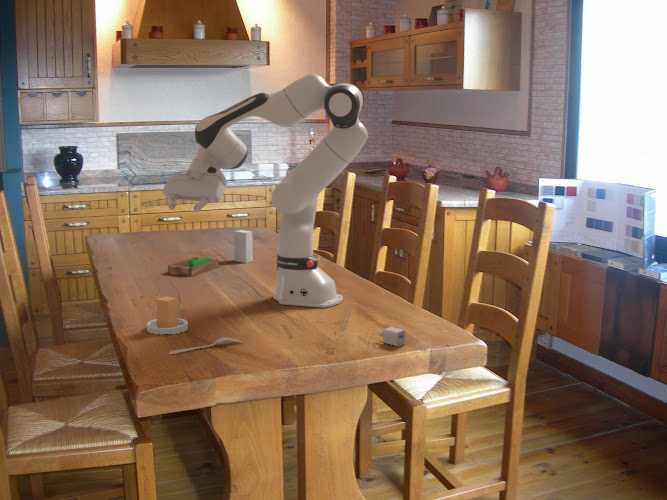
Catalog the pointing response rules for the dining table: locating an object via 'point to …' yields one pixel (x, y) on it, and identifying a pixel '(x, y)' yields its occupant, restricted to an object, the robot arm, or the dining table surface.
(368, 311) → the dining table surface
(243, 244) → the skincare box
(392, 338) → the usb wall charger
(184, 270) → the frame
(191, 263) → the pipe clamp
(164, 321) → the wooden toy brick
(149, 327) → the ring dish
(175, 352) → the fork
